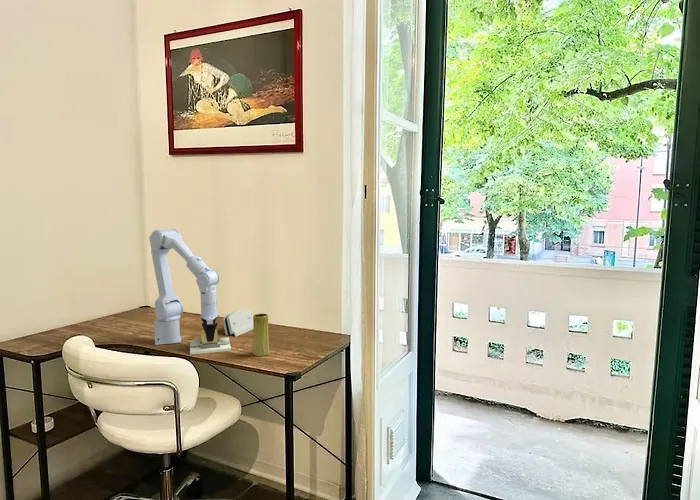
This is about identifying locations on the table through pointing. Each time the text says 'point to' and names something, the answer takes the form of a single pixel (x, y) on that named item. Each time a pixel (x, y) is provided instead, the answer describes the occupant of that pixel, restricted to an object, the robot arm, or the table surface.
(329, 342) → the table surface
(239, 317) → the hinge
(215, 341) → the coupler
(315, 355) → the table surface
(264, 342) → the vase
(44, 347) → the table surface
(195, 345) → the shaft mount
